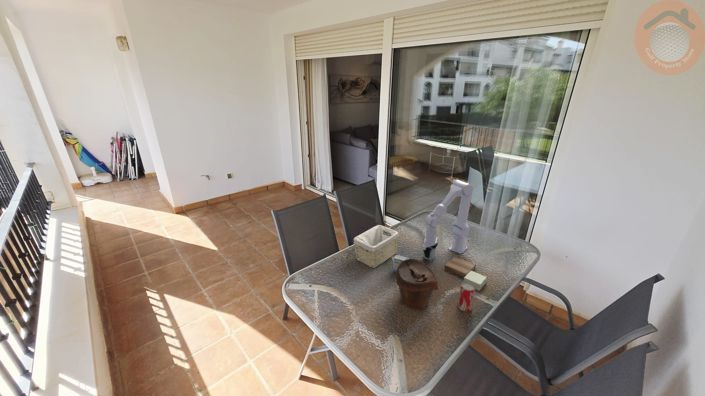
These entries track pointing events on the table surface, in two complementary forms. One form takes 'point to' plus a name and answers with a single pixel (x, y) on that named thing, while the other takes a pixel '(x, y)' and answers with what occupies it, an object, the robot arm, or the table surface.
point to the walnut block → (460, 266)
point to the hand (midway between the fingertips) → (429, 255)
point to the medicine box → (398, 261)
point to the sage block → (475, 280)
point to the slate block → (431, 254)
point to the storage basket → (376, 245)
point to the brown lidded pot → (415, 283)
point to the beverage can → (466, 297)
